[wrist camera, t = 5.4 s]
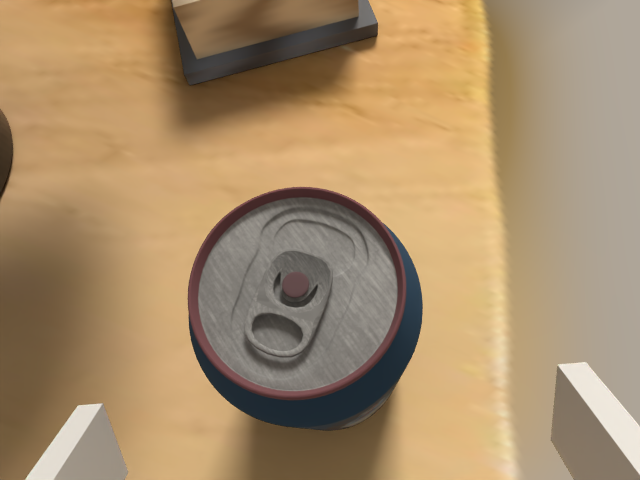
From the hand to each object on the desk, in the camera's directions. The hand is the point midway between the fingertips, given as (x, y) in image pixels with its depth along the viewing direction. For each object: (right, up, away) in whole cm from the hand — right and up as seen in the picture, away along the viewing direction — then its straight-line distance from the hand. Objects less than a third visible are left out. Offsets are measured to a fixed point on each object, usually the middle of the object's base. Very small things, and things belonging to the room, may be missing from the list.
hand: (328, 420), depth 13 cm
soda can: (0, -1, +10) cm, 10 cm away
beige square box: (-4, +23, +20) cm, 31 cm away
